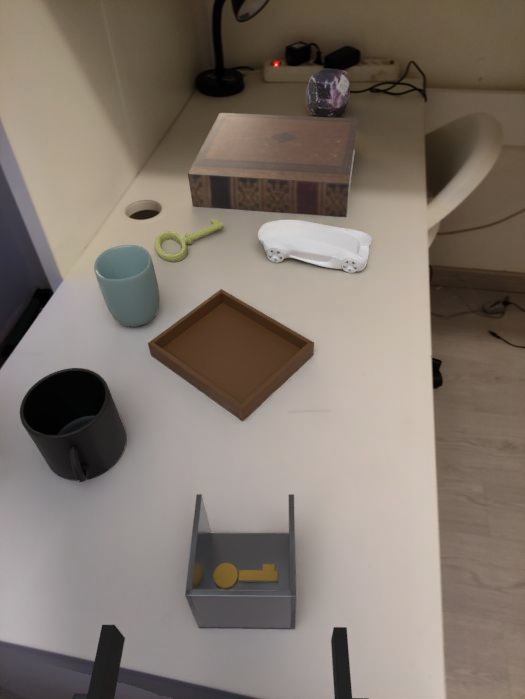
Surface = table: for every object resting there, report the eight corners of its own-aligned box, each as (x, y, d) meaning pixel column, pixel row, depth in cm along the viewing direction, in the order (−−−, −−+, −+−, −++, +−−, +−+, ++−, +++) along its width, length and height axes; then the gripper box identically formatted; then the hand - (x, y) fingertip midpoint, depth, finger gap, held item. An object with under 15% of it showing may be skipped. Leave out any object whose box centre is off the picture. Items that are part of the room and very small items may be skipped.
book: (346, 217, 94) (349, 183, 90) (192, 206, 99) (187, 173, 94) (354, 150, 111) (357, 118, 106) (222, 143, 115) (219, 112, 110)
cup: (111, 302, 82) (93, 248, 74) (162, 294, 82) (150, 240, 75) (111, 338, 76) (92, 284, 69) (165, 329, 77) (152, 275, 70)
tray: (150, 355, 74) (147, 343, 72) (222, 301, 81) (221, 288, 79) (242, 421, 66) (241, 409, 64) (313, 355, 73) (314, 342, 71)
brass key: (212, 589, 52) (212, 587, 51) (214, 564, 53) (214, 562, 53) (277, 590, 52) (277, 588, 51) (277, 565, 53) (277, 563, 53)
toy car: (371, 245, 89) (374, 222, 85) (364, 275, 84) (368, 252, 80) (265, 232, 92) (265, 209, 89) (253, 260, 87) (252, 237, 84)
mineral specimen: (320, 121, 116) (313, 70, 112) (303, 122, 125) (295, 75, 121) (361, 112, 118) (355, 61, 113) (341, 113, 127) (335, 66, 123)
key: (227, 231, 93) (226, 221, 91) (173, 266, 87) (171, 255, 85) (199, 216, 96) (197, 206, 95) (145, 249, 90) (143, 238, 89)
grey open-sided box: (295, 629, 50) (296, 596, 43) (198, 628, 50) (184, 595, 44) (293, 535, 56) (293, 494, 49) (207, 534, 56) (196, 493, 50)
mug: (48, 512, 59) (17, 470, 52) (46, 425, 66) (19, 378, 60) (134, 488, 60) (115, 444, 53) (122, 406, 68) (104, 359, 61)
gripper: (-118, 1242, 21) (43, 647, 36) (526, 1283, 20) (423, 651, 35) (-260, 1381, 16) (-2, 610, 30) (615, 1447, 15) (448, 615, 29)
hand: (225, 631), depth 32 cm, fingers open, 13 cm apart
